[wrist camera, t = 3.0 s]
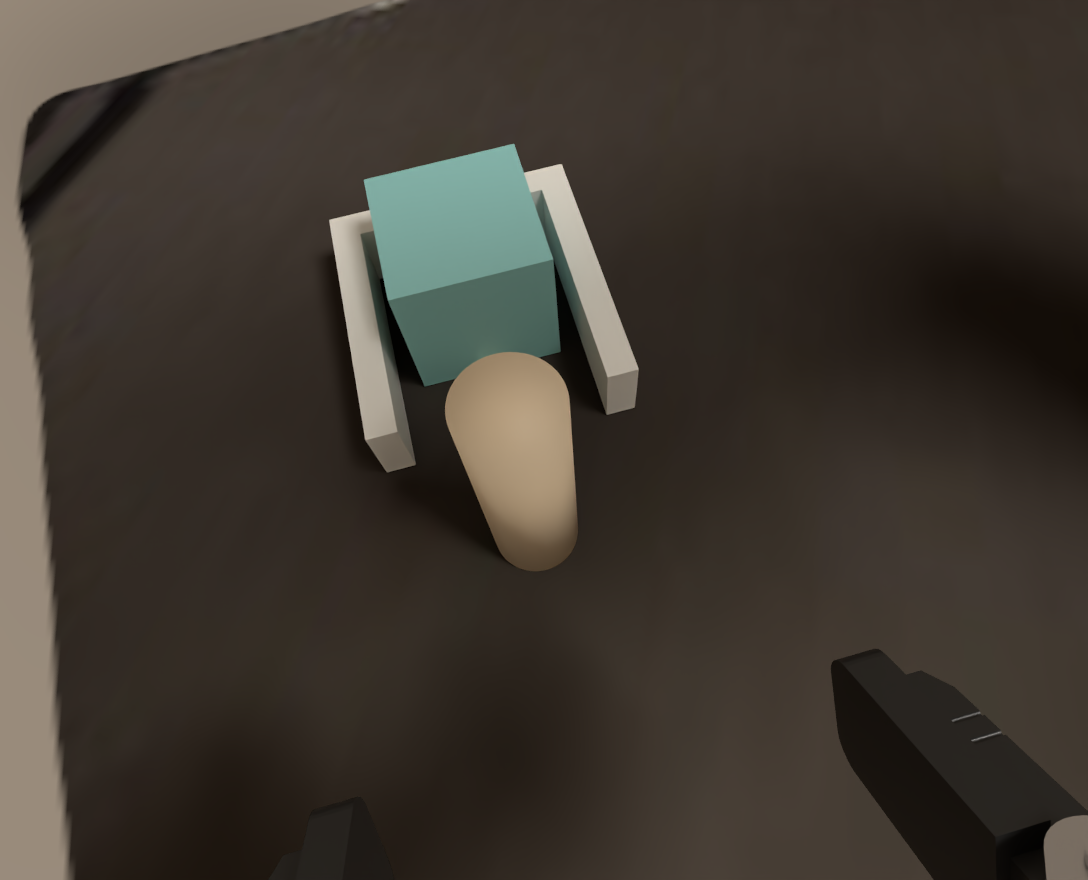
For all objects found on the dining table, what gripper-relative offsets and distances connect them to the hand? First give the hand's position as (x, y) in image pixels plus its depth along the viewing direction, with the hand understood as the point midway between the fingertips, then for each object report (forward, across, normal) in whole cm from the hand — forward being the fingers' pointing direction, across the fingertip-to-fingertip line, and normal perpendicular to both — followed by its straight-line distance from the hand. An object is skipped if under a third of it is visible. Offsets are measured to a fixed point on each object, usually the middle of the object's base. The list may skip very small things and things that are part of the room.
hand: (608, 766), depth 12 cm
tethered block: (+19, 0, -1) cm, 20 cm away
